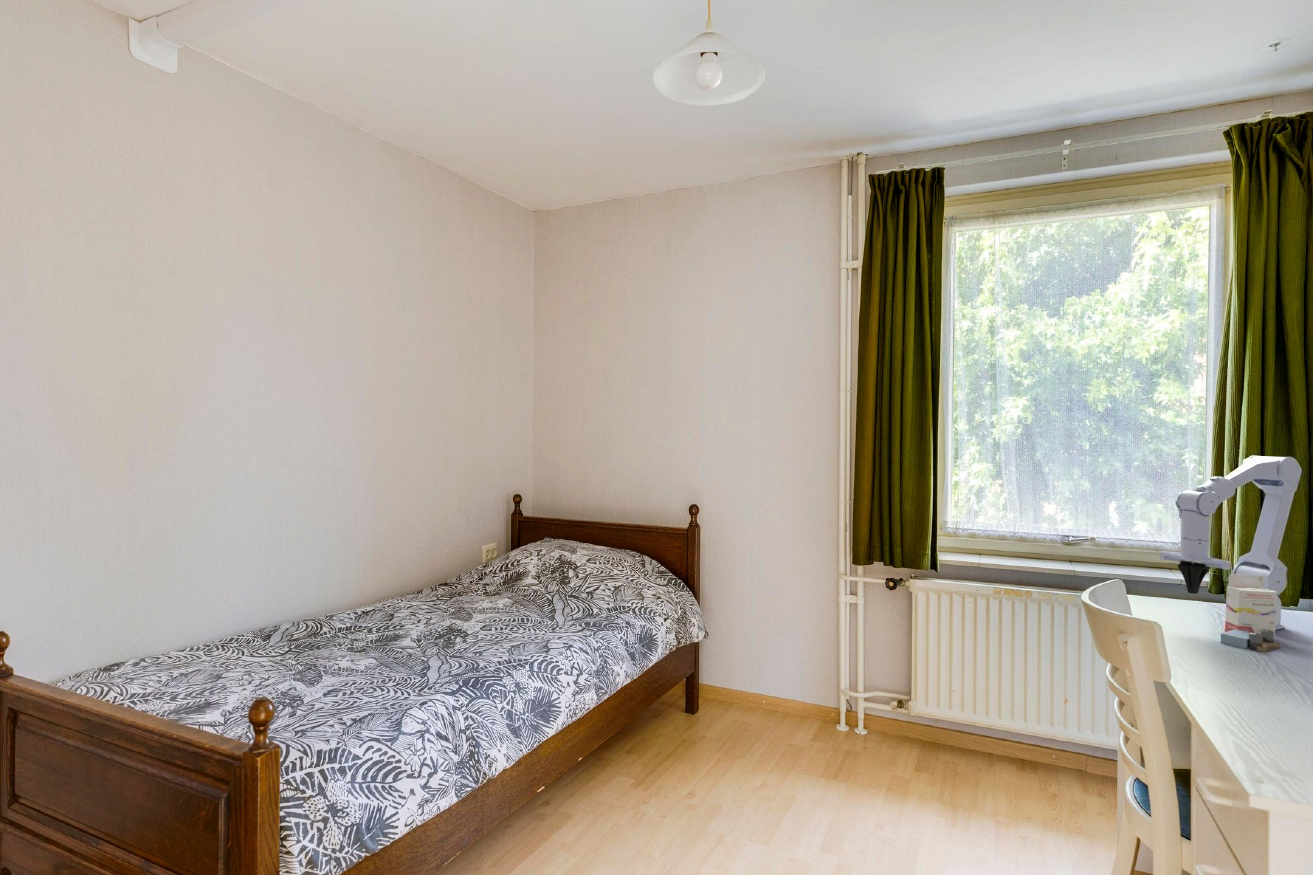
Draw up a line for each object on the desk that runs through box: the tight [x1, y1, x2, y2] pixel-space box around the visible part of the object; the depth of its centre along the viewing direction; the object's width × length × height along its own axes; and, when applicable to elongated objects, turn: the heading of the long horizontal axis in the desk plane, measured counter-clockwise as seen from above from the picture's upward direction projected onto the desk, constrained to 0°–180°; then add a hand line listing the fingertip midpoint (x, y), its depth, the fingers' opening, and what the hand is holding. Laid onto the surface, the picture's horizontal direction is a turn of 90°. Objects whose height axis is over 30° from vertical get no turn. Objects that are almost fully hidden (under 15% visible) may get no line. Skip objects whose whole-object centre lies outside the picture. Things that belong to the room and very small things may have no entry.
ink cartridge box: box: [1224, 573, 1278, 640], centre depth 174 cm, size 9×5×15 cm, turn 84°
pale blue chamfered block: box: [1220, 629, 1250, 649], centre depth 168 cm, size 8×5×2 cm, turn 121°
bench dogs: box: [1247, 629, 1280, 653], centre depth 164 cm, size 8×3×4 cm, turn 120°
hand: (1192, 592), depth 178 cm, fingers closed
